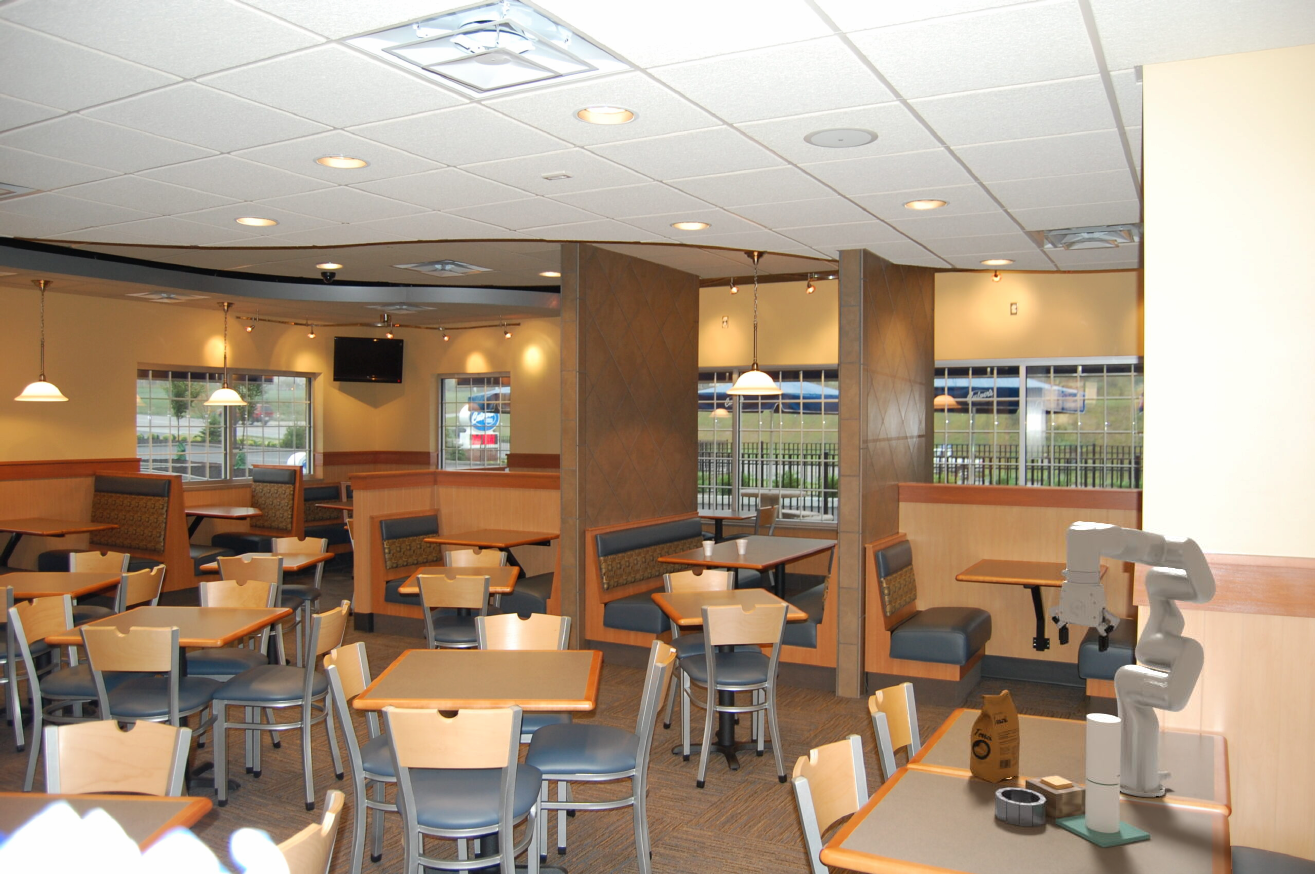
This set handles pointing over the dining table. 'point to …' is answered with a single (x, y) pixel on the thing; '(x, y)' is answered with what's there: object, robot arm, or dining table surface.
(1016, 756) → the coffee package
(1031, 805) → the collar
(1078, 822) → the mat
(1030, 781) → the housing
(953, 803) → the dining table surface
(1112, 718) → the cylindrical container
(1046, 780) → the tan block
